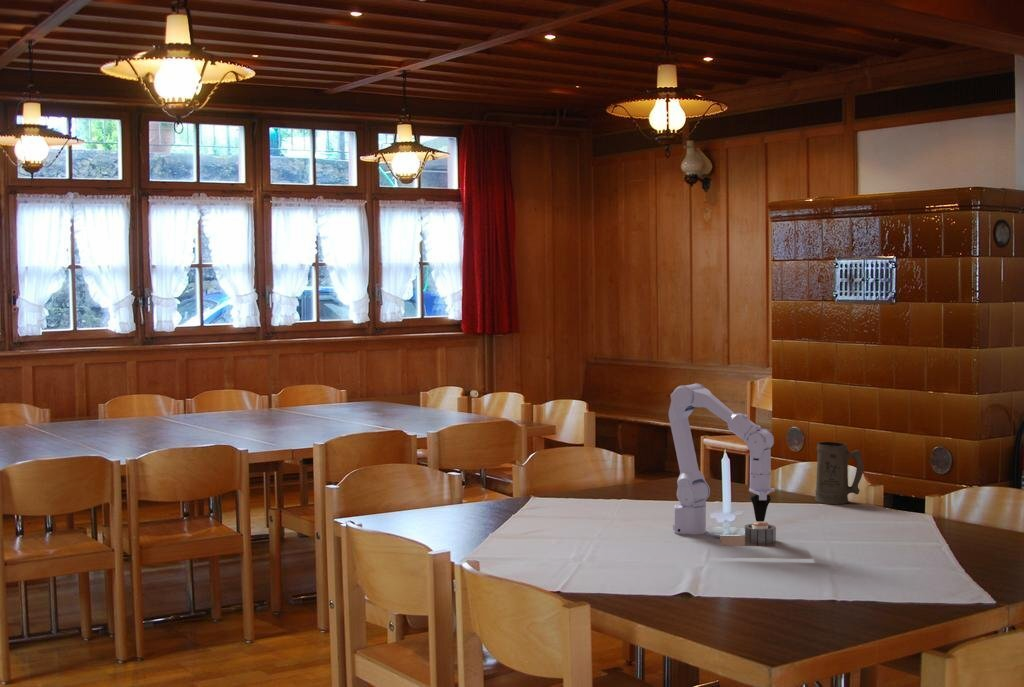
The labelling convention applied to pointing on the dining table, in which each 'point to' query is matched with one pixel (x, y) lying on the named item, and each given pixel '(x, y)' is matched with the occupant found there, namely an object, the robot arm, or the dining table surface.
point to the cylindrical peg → (760, 525)
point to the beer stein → (835, 473)
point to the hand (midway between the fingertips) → (759, 521)
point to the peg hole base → (752, 537)
